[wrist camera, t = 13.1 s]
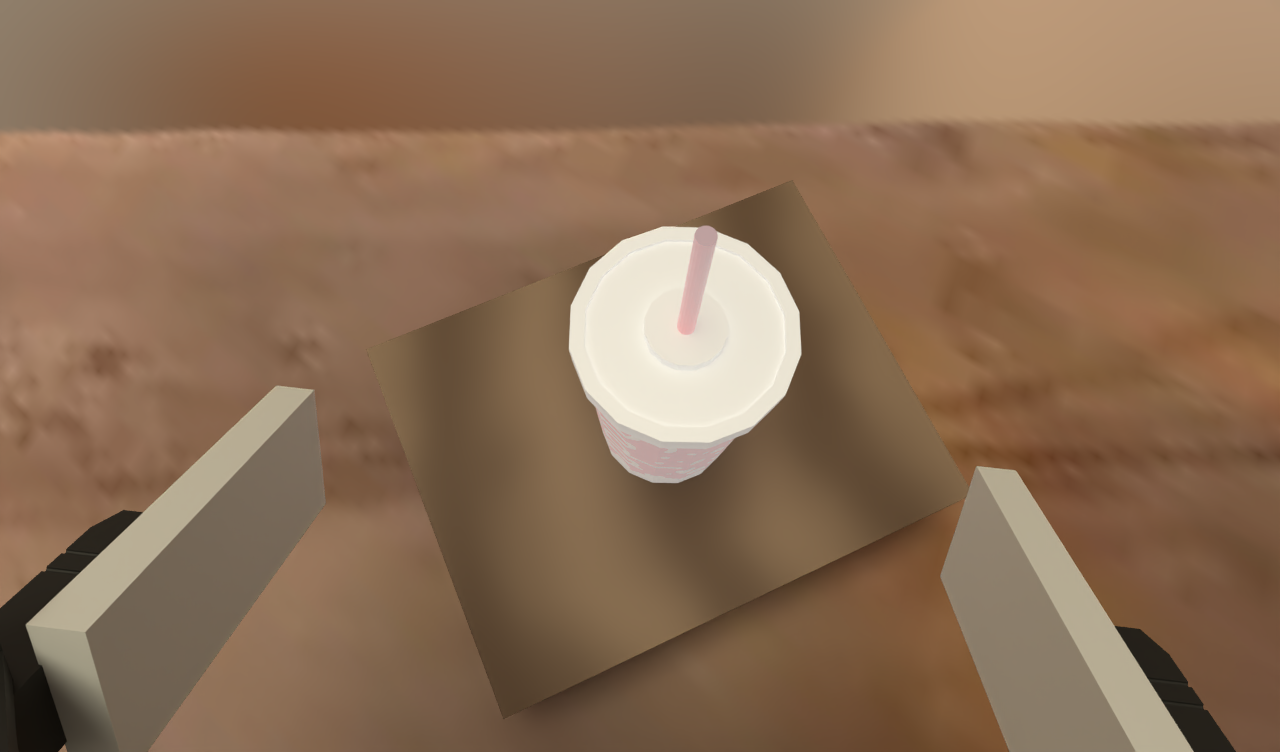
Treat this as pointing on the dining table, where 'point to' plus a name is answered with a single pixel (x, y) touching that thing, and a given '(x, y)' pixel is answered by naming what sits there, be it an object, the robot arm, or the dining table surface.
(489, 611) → the walnut shelf
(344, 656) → the dining table surface
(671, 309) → the beverage cup
